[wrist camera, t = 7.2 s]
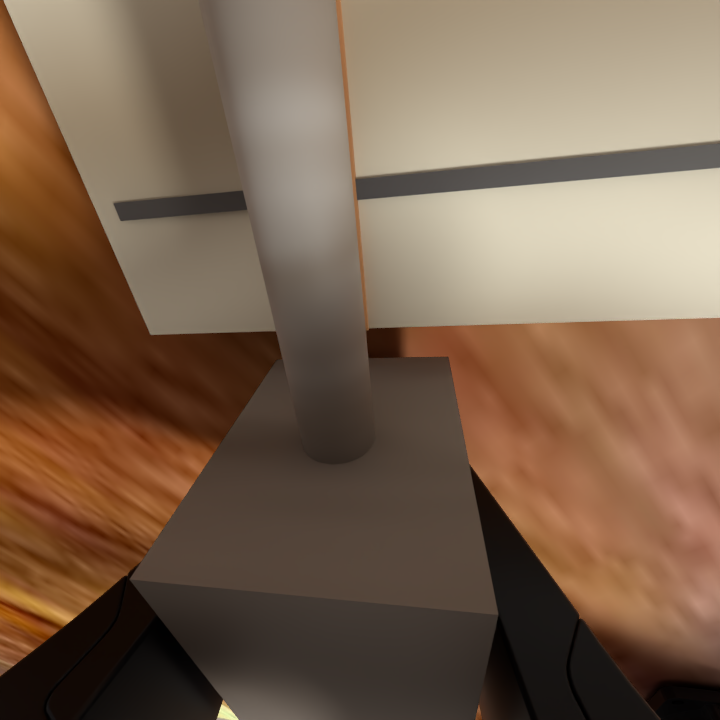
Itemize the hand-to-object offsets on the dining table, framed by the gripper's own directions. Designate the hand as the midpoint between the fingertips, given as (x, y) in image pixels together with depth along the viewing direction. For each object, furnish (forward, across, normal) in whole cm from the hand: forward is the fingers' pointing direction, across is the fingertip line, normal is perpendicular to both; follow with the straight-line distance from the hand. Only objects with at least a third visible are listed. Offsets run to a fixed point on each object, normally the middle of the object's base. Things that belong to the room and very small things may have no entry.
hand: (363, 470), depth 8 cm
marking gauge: (+1, 0, -3) cm, 3 cm away
